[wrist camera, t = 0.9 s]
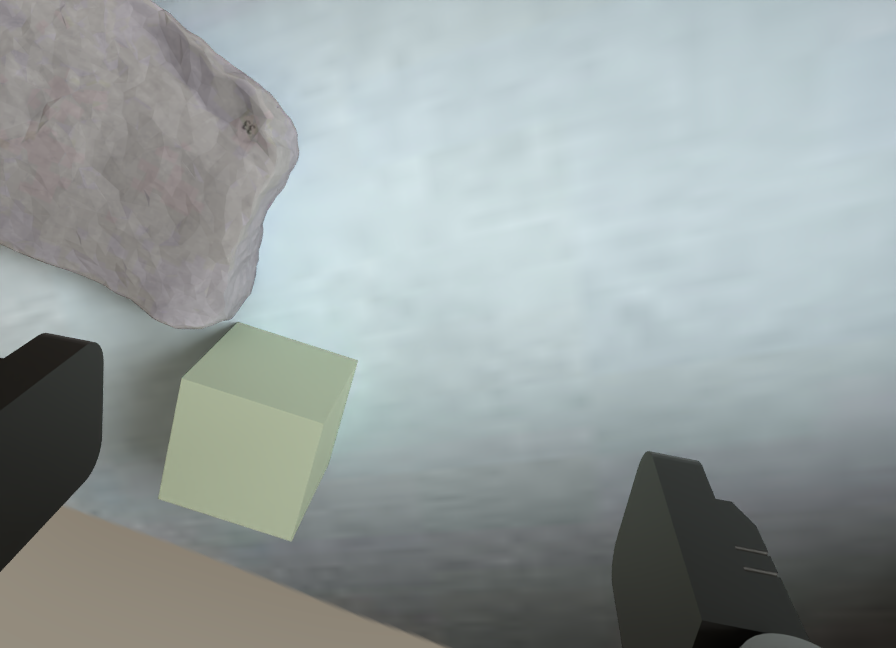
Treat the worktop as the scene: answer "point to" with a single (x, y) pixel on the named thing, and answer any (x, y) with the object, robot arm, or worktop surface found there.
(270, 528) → the sage block
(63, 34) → the stone block
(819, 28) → the worktop surface
